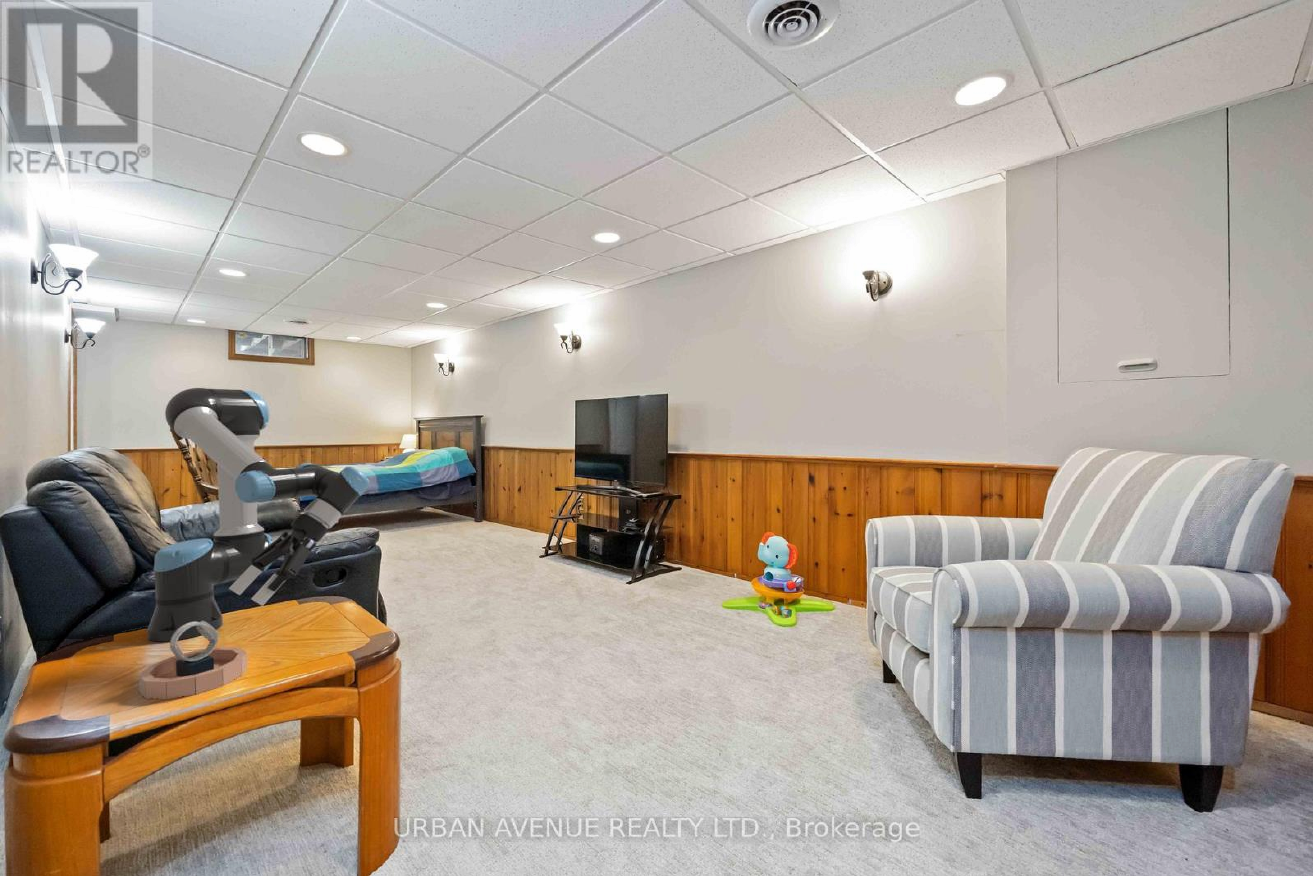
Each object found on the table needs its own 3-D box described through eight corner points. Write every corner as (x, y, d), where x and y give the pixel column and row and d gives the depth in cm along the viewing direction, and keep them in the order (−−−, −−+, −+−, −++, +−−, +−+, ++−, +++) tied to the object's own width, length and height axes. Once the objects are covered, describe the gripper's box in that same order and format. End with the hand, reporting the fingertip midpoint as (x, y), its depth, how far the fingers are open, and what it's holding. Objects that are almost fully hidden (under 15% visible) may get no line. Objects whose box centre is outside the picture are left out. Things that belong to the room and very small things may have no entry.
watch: (224, 668, 120) (223, 618, 120) (179, 684, 113) (177, 631, 113) (210, 663, 122) (209, 614, 122) (165, 678, 115) (164, 626, 115)
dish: (131, 684, 115) (130, 667, 115) (229, 656, 129) (229, 641, 129) (154, 707, 105) (154, 689, 105) (258, 674, 119) (257, 658, 119)
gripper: (351, 535, 131) (281, 616, 119) (305, 525, 146) (239, 596, 134) (327, 516, 127) (252, 598, 115) (282, 507, 141) (211, 579, 129)
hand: (244, 597), depth 124 cm, fingers open, 13 cm apart
